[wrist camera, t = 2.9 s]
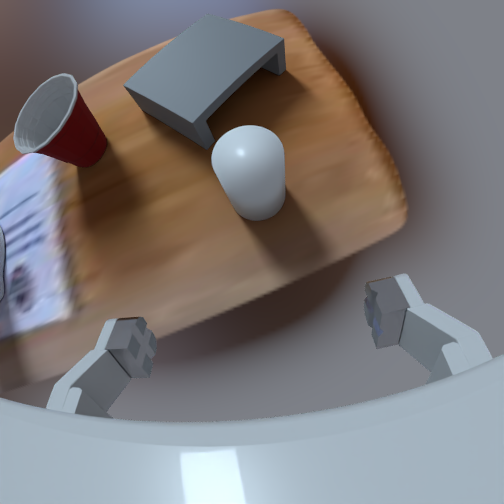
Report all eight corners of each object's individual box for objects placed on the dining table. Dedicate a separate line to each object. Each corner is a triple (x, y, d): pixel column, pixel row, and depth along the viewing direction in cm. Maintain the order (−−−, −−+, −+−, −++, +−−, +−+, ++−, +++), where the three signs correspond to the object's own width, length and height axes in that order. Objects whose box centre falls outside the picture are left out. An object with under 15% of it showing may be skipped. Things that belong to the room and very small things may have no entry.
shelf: (206, 149, 35) (192, 123, 29) (141, 109, 37) (123, 85, 32) (285, 69, 36) (283, 38, 30) (216, 41, 38) (207, 13, 32)
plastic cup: (58, 192, 37) (1, 161, 25) (70, 130, 39) (25, 91, 27) (117, 178, 36) (62, 134, 24) (127, 111, 38) (85, 61, 26)
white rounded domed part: (262, 231, 32) (253, 202, 23) (219, 200, 33) (197, 164, 24) (296, 188, 33) (298, 147, 24) (252, 160, 34) (241, 114, 25)
